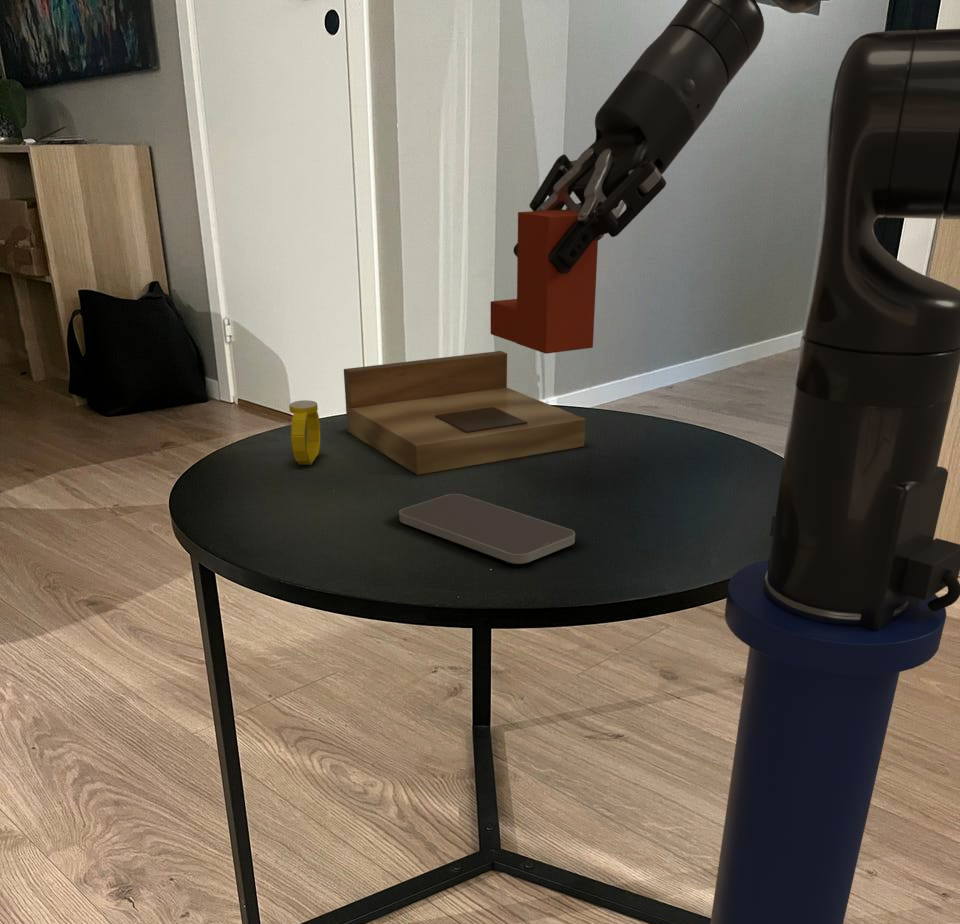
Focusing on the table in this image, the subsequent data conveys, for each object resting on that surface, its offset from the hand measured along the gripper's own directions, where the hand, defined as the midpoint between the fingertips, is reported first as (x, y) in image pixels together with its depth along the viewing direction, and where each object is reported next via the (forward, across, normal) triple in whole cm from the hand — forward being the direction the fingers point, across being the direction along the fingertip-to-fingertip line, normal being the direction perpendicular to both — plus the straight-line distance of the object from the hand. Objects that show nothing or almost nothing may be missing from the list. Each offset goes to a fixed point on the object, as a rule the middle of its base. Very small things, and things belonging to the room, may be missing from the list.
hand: (538, 262), depth 84 cm
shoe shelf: (+13, +18, -16) cm, 27 cm away
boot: (+4, +3, -6) cm, 8 cm away
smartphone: (+21, -8, -7) cm, 24 cm away
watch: (+26, +19, -3) cm, 32 cm away
